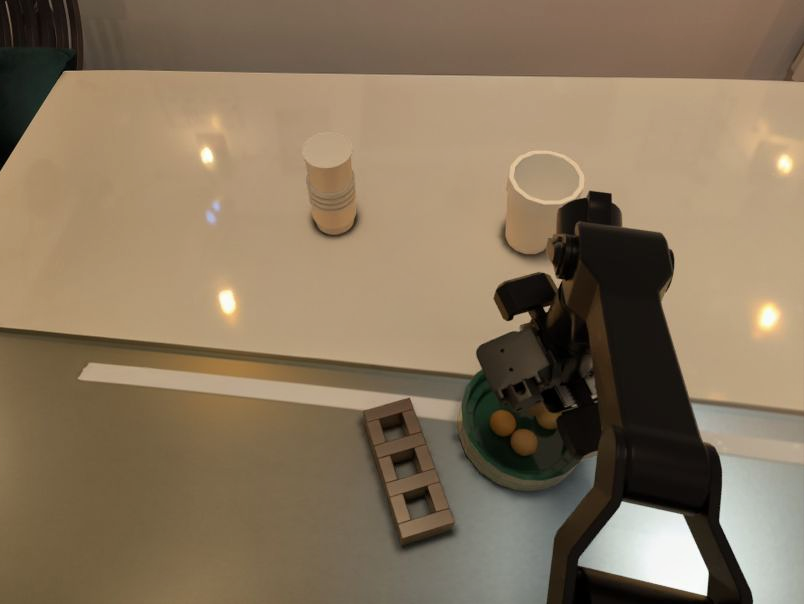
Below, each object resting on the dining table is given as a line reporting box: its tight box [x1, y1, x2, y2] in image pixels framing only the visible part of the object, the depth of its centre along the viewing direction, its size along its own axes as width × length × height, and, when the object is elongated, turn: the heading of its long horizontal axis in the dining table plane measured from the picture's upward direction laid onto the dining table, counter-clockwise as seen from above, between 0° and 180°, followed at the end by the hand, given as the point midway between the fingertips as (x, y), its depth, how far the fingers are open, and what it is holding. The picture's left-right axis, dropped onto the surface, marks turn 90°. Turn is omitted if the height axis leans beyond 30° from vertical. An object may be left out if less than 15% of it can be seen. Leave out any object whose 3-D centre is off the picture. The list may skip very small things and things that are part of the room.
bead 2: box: [511, 429, 538, 456], centre depth 70 cm, size 3×3×3 cm
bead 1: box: [490, 410, 516, 437], centre depth 71 cm, size 3×3×3 cm
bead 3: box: [536, 407, 562, 430], centre depth 71 cm, size 3×3×3 cm
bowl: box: [457, 369, 581, 492], centre depth 71 cm, size 14×14×5 cm
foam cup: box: [504, 150, 585, 255], centre depth 83 cm, size 10×9×13 cm
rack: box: [362, 397, 455, 546], centre depth 69 cm, size 14×6×4 cm, turn 15°
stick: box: [526, 402, 545, 416], centre depth 66 cm, size 2×2×11 cm
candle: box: [301, 131, 357, 236], centre depth 87 cm, size 7×7×15 cm
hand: (542, 391), depth 67 cm, fingers closed on stick, 2 cm apart
